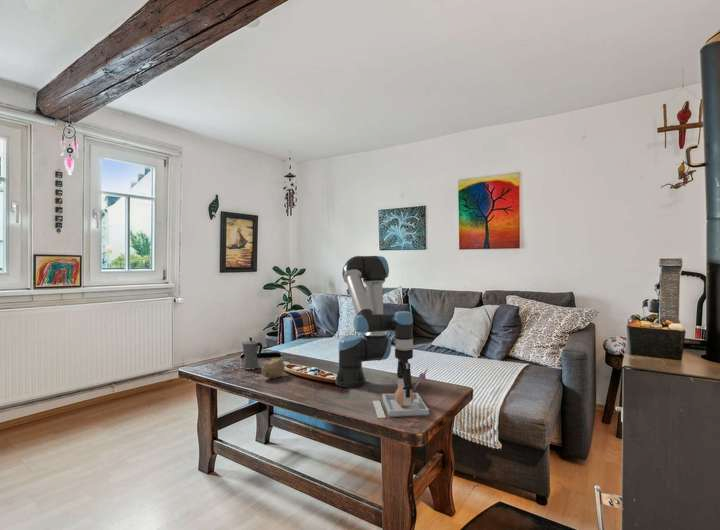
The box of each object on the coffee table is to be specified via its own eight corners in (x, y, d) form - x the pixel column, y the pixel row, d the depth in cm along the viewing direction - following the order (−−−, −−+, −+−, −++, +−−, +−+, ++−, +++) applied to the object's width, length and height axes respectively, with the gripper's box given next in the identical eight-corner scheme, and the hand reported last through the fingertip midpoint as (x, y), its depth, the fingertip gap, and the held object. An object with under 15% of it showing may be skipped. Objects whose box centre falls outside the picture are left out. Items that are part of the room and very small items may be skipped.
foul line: (372, 401, 163) (372, 400, 163) (379, 401, 163) (379, 400, 163) (377, 418, 145) (377, 417, 145) (385, 418, 145) (385, 417, 145)
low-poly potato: (282, 373, 209) (263, 364, 208) (290, 358, 206) (271, 348, 205) (275, 389, 194) (255, 379, 193) (284, 373, 191) (263, 363, 190)
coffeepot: (236, 368, 217) (236, 337, 217) (248, 364, 226) (248, 335, 226) (256, 372, 210) (256, 340, 210) (267, 368, 219) (267, 337, 219)
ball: (393, 401, 161) (393, 383, 160) (411, 401, 161) (411, 383, 160) (396, 410, 153) (396, 391, 152) (415, 409, 153) (416, 391, 152)
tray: (382, 398, 166) (382, 393, 166) (417, 397, 167) (417, 392, 167) (389, 416, 146) (388, 411, 146) (429, 415, 147) (429, 409, 147)
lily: (422, 384, 189) (413, 368, 189) (442, 379, 182) (432, 362, 182) (413, 398, 180) (404, 381, 179) (434, 394, 173) (423, 376, 172)
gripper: (390, 342, 169) (390, 389, 169) (400, 355, 144) (400, 410, 144) (406, 342, 170) (407, 388, 170) (419, 355, 145) (419, 409, 145)
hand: (404, 399), depth 157 cm, fingers open, 13 cm apart
